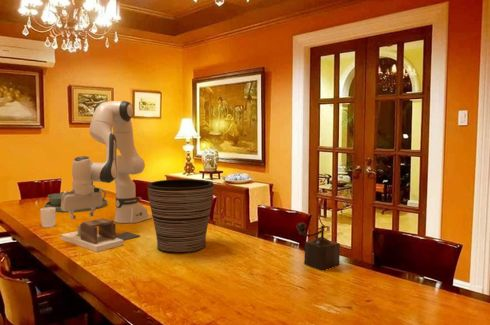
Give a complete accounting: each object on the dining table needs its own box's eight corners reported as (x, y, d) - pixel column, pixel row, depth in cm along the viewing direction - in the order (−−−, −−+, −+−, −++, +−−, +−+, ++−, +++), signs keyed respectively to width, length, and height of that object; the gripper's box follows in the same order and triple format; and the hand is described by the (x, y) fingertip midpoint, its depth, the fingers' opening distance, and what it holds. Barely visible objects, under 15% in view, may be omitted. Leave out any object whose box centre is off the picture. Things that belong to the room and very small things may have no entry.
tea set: (45, 204, 295) (44, 181, 294) (103, 200, 312) (102, 178, 311) (44, 215, 259) (43, 189, 258) (110, 209, 276) (109, 185, 275)
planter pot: (150, 259, 173) (149, 189, 170) (147, 240, 202) (146, 180, 199) (219, 253, 181) (219, 186, 178) (207, 236, 210) (207, 178, 207)
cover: (101, 234, 202) (101, 218, 201) (115, 238, 195) (115, 221, 194) (80, 238, 194) (80, 221, 193) (94, 243, 186) (94, 225, 185)
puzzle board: (87, 233, 214) (87, 229, 213) (123, 245, 193) (123, 239, 193) (61, 239, 203) (60, 234, 202) (96, 252, 183) (96, 246, 182)
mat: (127, 232, 216) (127, 232, 216) (140, 236, 209) (140, 235, 209) (108, 237, 207) (108, 236, 207) (121, 241, 200) (121, 240, 200)
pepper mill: (319, 258, 175) (320, 217, 173) (340, 265, 166) (341, 222, 165) (293, 266, 165) (294, 222, 164) (313, 274, 157) (314, 228, 155)
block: (85, 238, 205) (85, 224, 205) (89, 239, 203) (89, 225, 202) (77, 239, 202) (77, 226, 202) (82, 241, 200) (81, 227, 199)
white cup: (50, 228, 225) (49, 210, 224) (37, 227, 227) (36, 209, 226) (59, 224, 233) (58, 207, 232) (47, 224, 234) (46, 206, 233)
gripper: (64, 192, 190) (65, 221, 191) (104, 188, 206) (104, 215, 207) (58, 191, 194) (58, 220, 195) (97, 187, 210) (97, 213, 211)
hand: (82, 217), depth 201 cm, fingers open, 8 cm apart
